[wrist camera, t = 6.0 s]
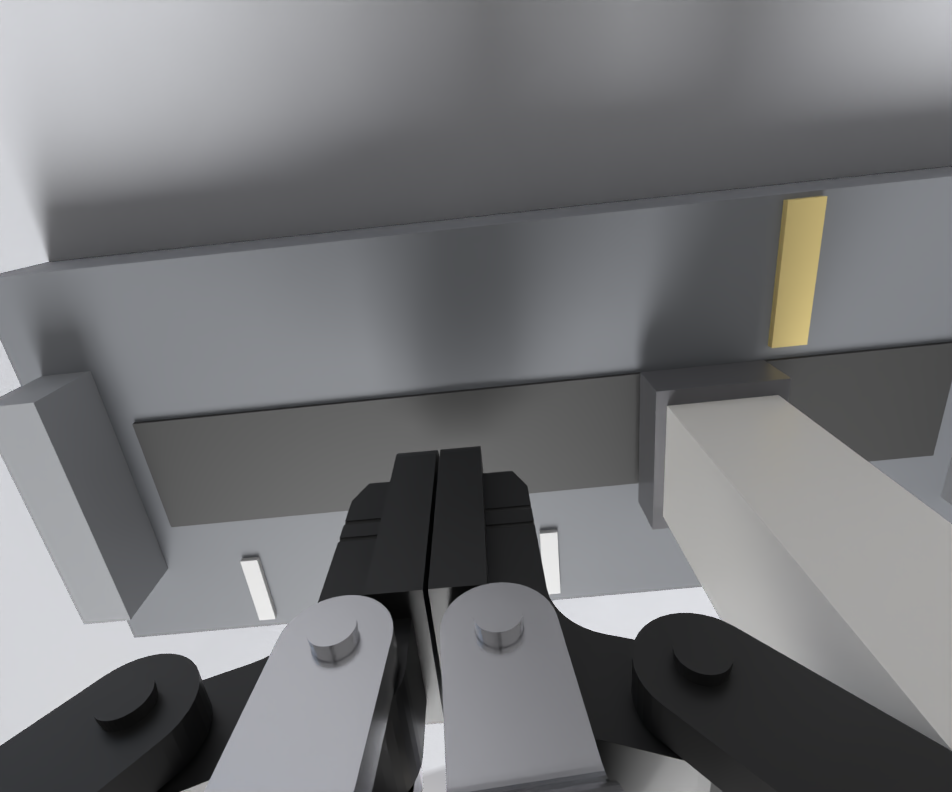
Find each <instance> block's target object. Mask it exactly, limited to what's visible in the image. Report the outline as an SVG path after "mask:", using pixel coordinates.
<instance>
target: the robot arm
mask: <svg viewBox="0 0 952 792" xmlns="http://www.w3.org/2000/svg"><path fill="white" fill-rule="evenodd" d="M436 723H444V739H445V763H446V784H447V785H446V788H447V792H952V751H951V750H949V749H948V748H946V747H944V746H942V745H941V744H939V743H937V742H935V741H934V740H932V739H930V738H928V737H927V736H925V735H923V734H921V733H920V732H918V731H916V730H914V729H913V728H911V727H909V726H907V725H906V724H904V723H902V722H900V721H899V720H897V719H895V718H893V717H892V716H890V715H888V714H886V713H885V712H883V711H881V710H880V709H878V708H876V707H874V706H873V705H871V704H869V703H867V702H866V701H864V700H862V699H860V698H859V697H857V696H855V695H853V694H852V693H850V692H848V691H846V690H845V689H843V688H841V687H839V686H838V685H836V684H834V683H832V682H831V681H829V680H827V679H825V678H824V677H822V676H820V675H818V674H817V673H815V672H813V671H812V670H810V669H808V668H806V667H805V666H803V665H801V664H799V663H798V662H796V661H794V660H792V659H791V658H789V657H787V656H785V655H784V654H782V653H780V652H778V651H777V650H775V649H773V648H771V647H770V646H768V645H766V644H764V643H763V642H761V641H759V640H757V639H756V638H754V637H752V636H750V635H749V634H747V633H745V632H744V631H742V630H740V629H738V628H737V627H735V626H733V625H731V624H729V623H727V622H725V621H722V620H719V619H716V618H714V617H710V616H706V615H701V614H694V613H676V614H669V615H666V616H662V617H659V618H657V619H655V620H653V621H651V622H650V623H648V624H647V625H645V626H644V627H643V628H642V630H641V631H640V632H639V633H638V635H637V637H636V639H635V640H633V639H628V638H623V637H617V636H612V635H606V634H602V633H598V632H594V631H591V630H589V629H586V628H583V627H581V626H579V625H577V624H576V623H574V622H572V621H571V620H569V619H568V618H566V617H565V616H564V615H563V614H562V613H561V612H560V611H559V610H558V609H557V608H556V607H555V605H554V604H553V602H552V601H551V599H550V597H549V594H548V591H547V586H546V581H545V576H544V570H543V565H542V560H541V555H540V549H539V544H538V539H537V534H536V528H535V525H534V518H533V513H532V509H531V502H530V497H529V492H528V486H527V485H526V484H525V483H524V482H523V481H522V480H521V479H520V478H519V477H518V476H517V475H516V474H515V473H514V472H513V471H503V472H492V473H483V463H482V454H481V446H475V447H463V448H452V449H441V450H440V456H439V452H438V450H431V451H420V452H409V453H398V454H397V455H396V458H395V462H394V467H393V471H392V475H391V479H390V482H380V483H369V484H368V485H367V486H366V487H365V488H364V489H363V490H362V491H361V492H360V493H359V494H358V495H357V496H356V497H355V498H354V499H353V500H352V502H351V505H350V508H349V511H348V514H347V517H346V520H345V525H344V526H343V529H342V532H341V535H340V542H338V544H337V547H336V550H335V553H334V556H333V559H332V562H331V565H330V568H329V571H328V574H327V577H326V580H325V582H324V585H323V588H322V591H321V594H320V597H319V600H318V603H317V604H314V605H312V606H311V607H309V608H307V609H306V610H304V611H302V612H301V613H300V614H299V615H297V616H296V617H295V618H294V619H293V620H292V621H291V622H290V623H289V624H288V625H287V626H286V627H285V628H284V630H283V631H282V633H281V634H280V636H279V638H278V640H277V642H276V644H275V646H274V648H273V650H272V652H271V654H270V656H268V657H266V658H264V659H261V660H259V661H256V662H254V663H251V664H249V665H246V666H243V667H240V668H237V669H234V670H231V671H228V672H225V673H222V674H220V675H217V676H214V677H211V678H208V679H205V680H202V679H201V676H200V674H199V671H198V669H197V667H196V665H195V664H194V663H193V662H192V661H191V660H190V659H188V658H187V657H184V656H181V655H177V654H158V655H152V656H148V657H144V658H141V659H137V660H135V661H132V662H130V663H127V664H125V665H123V666H121V667H119V668H117V669H115V670H114V671H112V672H110V673H109V674H107V675H105V676H104V677H102V678H101V679H99V680H98V681H96V682H95V683H93V684H92V685H90V686H89V687H87V688H86V689H84V690H83V691H81V692H80V693H78V694H77V695H75V696H74V697H72V698H71V699H69V700H68V701H66V702H65V703H63V704H62V705H61V706H59V707H58V708H56V709H55V710H53V711H52V712H50V713H49V714H47V715H46V716H44V717H43V718H41V719H40V720H38V721H37V722H35V723H34V724H32V725H31V726H29V727H28V728H26V729H25V730H23V731H22V732H20V733H19V734H17V735H16V736H14V737H13V738H11V739H10V740H8V741H7V742H5V743H4V744H2V745H1V746H0V792H422V790H423V773H422V767H421V765H422V758H423V746H424V732H425V724H436Z"/></svg>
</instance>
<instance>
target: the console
mask: <svg viewBox="0 0 952 792" xmlns="http://www.w3.org/2000/svg"><path fill="white" fill-rule="evenodd" d="M0 340H1V342H2V344H3V347H4V349H5V351H6V353H7V355H8V358H9V360H10V362H11V364H12V367H13V369H14V371H15V373H16V375H17V378H18V380H19V382H20V384H21V387H19V388H17V389H15V390H13V391H11V392H9V393H7V394H5V395H3V396H1V397H0V454H1V456H2V458H3V460H4V462H5V464H6V467H7V469H8V471H9V473H10V475H11V477H12V479H13V481H14V483H15V485H16V487H17V489H18V491H19V493H20V495H21V497H22V499H23V501H24V503H25V505H26V507H27V509H28V511H29V513H30V515H31V517H32V519H33V521H34V524H35V526H36V528H37V530H38V532H39V534H40V536H41V538H42V540H43V542H44V544H45V546H46V548H47V550H48V552H49V554H50V556H51V558H52V560H53V562H54V564H55V566H56V568H57V570H58V572H59V574H60V576H61V578H62V580H63V583H64V585H65V587H66V589H67V591H68V593H69V595H70V597H71V599H72V601H73V603H74V605H75V607H76V609H77V611H78V613H79V615H80V617H81V619H82V621H83V623H84V624H92V623H103V622H114V621H125V620H127V622H128V624H129V626H130V628H131V631H132V633H133V635H134V637H147V636H158V635H169V634H180V633H191V632H202V631H213V630H225V629H236V628H247V627H258V626H269V625H280V624H289V623H290V622H291V621H292V620H293V619H294V618H295V617H296V616H297V615H299V614H300V613H301V612H302V611H304V610H306V609H307V608H309V607H311V606H312V605H314V604H317V603H318V600H319V597H320V594H321V591H322V588H323V585H324V582H325V580H326V577H327V574H328V571H329V568H330V565H331V562H332V559H333V556H334V553H335V550H336V547H337V544H338V542H340V535H341V532H342V529H343V526H344V525H345V520H346V517H347V514H348V511H349V508H350V505H351V502H352V500H353V499H354V498H355V497H356V496H357V495H358V494H359V493H360V492H361V491H362V490H363V489H364V488H365V487H366V486H367V485H368V484H369V483H380V482H390V479H391V475H392V471H393V467H394V462H395V458H396V455H397V454H398V453H409V452H420V451H431V450H438V452H439V456H440V450H441V449H452V448H463V447H475V446H481V454H482V463H483V473H492V472H503V471H513V472H514V473H515V474H516V475H517V476H518V477H519V478H520V479H521V480H522V481H523V482H524V483H525V484H526V485H527V486H528V492H529V497H530V502H531V509H532V513H533V518H534V525H535V528H536V534H537V539H538V544H539V549H540V555H541V560H542V565H543V570H544V576H545V581H546V586H547V591H548V594H549V597H550V599H551V600H559V599H570V598H581V597H592V596H604V595H615V594H626V593H637V592H648V591H659V590H670V589H682V588H693V587H702V585H701V584H700V582H699V580H698V578H697V576H696V575H695V573H694V571H693V569H692V567H691V566H690V564H689V562H688V560H687V558H686V557H685V555H684V553H683V551H682V549H681V548H680V546H679V544H678V542H677V540H676V539H675V537H674V535H673V533H672V531H671V530H670V528H665V529H654V530H652V528H651V526H650V524H649V522H648V520H647V518H646V516H645V514H644V512H643V510H642V508H641V506H640V504H639V502H638V486H639V423H640V372H648V371H658V370H668V369H678V368H688V367H698V366H709V365H719V364H729V363H739V362H749V361H759V360H765V361H766V362H768V363H769V364H771V365H772V366H774V367H775V368H777V369H778V370H780V371H781V372H783V373H784V374H786V375H787V376H789V377H790V378H792V379H791V387H790V394H789V402H788V403H790V404H791V405H793V406H794V407H795V408H797V409H798V410H799V411H801V412H802V413H803V414H805V415H806V416H807V417H809V418H810V419H811V420H813V421H814V422H815V423H817V424H818V425H819V426H821V427H822V428H823V429H825V430H826V431H827V432H829V433H830V434H832V435H833V436H834V437H836V438H837V439H838V440H840V441H841V442H842V443H844V444H845V445H846V446H848V447H849V448H850V449H852V450H853V451H854V452H856V453H857V454H858V455H860V456H861V457H862V458H864V459H865V460H866V461H868V462H869V463H870V464H872V465H873V466H875V467H876V468H877V469H879V470H880V471H881V472H883V473H884V474H885V475H887V476H888V477H889V478H891V479H892V480H893V481H895V482H896V483H897V484H899V485H900V486H901V487H903V488H904V489H905V490H907V491H908V492H909V493H911V494H912V495H914V496H915V497H916V498H918V499H919V500H920V501H922V502H923V503H924V504H926V505H927V506H928V507H930V508H931V509H932V510H934V511H935V512H936V513H938V514H939V515H940V516H942V517H943V518H944V519H946V520H947V521H948V522H950V523H951V524H952V166H949V167H939V168H930V169H920V170H911V171H902V172H892V173H883V174H873V175H864V176H855V177H845V178H836V179H826V180H817V181H807V182H798V183H789V184H779V185H770V186H760V187H751V188H742V189H732V190H723V191H713V192H704V193H695V194H685V195H676V196H666V197H657V198H647V199H638V200H629V201H619V202H610V203H600V204H591V205H582V206H572V207H563V208H553V209H544V210H535V211H525V212H516V213H506V214H497V215H487V216H478V217H469V218H459V219H450V220H440V221H431V222H422V223H412V224H403V225H393V226H384V227H375V228H365V229H356V230H346V231H337V232H327V233H318V234H309V235H299V236H290V237H280V238H271V239H262V240H252V241H243V242H233V243H224V244H215V245H205V246H196V247H186V248H177V249H167V250H158V251H149V252H139V253H130V254H120V255H111V256H102V257H92V258H83V259H73V260H64V261H55V262H46V263H42V264H38V265H34V266H29V267H25V268H21V269H17V270H13V271H8V272H4V273H0Z"/></svg>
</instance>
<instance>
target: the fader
mask: <svg viewBox="0 0 952 792" xmlns="http://www.w3.org/2000/svg"><path fill="white" fill-rule="evenodd" d="M791 379H792V378H790V377H789V376H787V375H786V374H784V373H783V372H781V371H780V370H778V369H777V368H775V367H774V366H772V365H771V364H769V363H768V362H766V361H765V360H759V361H749V362H739V363H729V364H719V365H709V366H698V367H688V368H678V369H668V370H658V371H648V372H640V423H639V486H638V502H639V504H640V506H641V508H642V510H643V512H644V514H645V516H646V518H647V520H648V522H649V524H650V526H651V528H652V530H654V529H665V528H670V530H671V531H672V533H673V535H674V537H675V539H676V540H677V542H678V544H679V546H680V548H681V549H682V551H683V553H684V555H685V557H686V558H687V560H688V562H689V564H690V566H691V567H692V569H693V571H694V573H695V575H696V576H697V578H698V580H699V582H700V584H701V585H702V587H703V589H704V591H705V592H706V594H707V596H708V598H709V600H710V601H711V603H712V605H713V607H714V609H715V610H716V612H717V614H718V616H719V618H720V619H721V620H722V621H725V622H727V623H729V624H731V625H733V626H735V627H737V628H738V629H740V630H742V631H744V632H745V633H747V634H749V635H750V636H752V637H754V638H756V639H757V640H759V641H761V642H763V643H764V644H766V645H768V646H770V647H771V648H773V649H775V650H777V651H778V652H780V653H782V654H784V655H785V656H787V657H789V658H791V659H792V660H794V661H796V662H798V663H799V664H801V665H803V666H805V667H806V668H808V669H810V670H812V671H813V672H815V673H817V674H818V675H820V676H822V677H824V678H825V679H827V680H829V681H831V682H832V683H834V684H836V685H838V686H839V687H841V688H843V689H845V690H846V691H848V692H850V693H852V694H853V695H855V696H857V697H859V698H860V699H862V700H864V701H866V702H867V703H869V704H871V705H873V706H874V707H876V708H878V709H880V710H881V711H883V712H885V713H886V714H888V715H890V716H892V717H893V718H895V719H897V720H899V721H900V722H902V723H904V724H906V725H907V726H909V727H911V728H913V729H914V730H916V731H918V732H920V733H921V734H923V735H925V736H927V737H928V738H930V739H932V740H934V741H935V742H937V743H939V744H941V745H942V746H944V747H946V748H948V749H949V750H951V751H952V524H951V523H950V522H948V521H947V520H946V519H944V518H943V517H942V516H940V515H939V514H938V513H936V512H935V511H934V510H932V509H931V508H930V507H928V506H927V505H926V504H924V503H923V502H922V501H920V500H919V499H918V498H916V497H915V496H914V495H912V494H911V493H909V492H908V491H907V490H905V489H904V488H903V487H901V486H900V485H899V484H897V483H896V482H895V481H893V480H892V479H891V478H889V477H888V476H887V475H885V474H884V473H883V472H881V471H880V470H879V469H877V468H876V467H875V466H873V465H872V464H870V463H869V462H868V461H866V460H865V459H864V458H862V457H861V456H860V455H858V454H857V453H856V452H854V451H853V450H852V449H850V448H849V447H848V446H846V445H845V444H844V443H842V442H841V441H840V440H838V439H837V438H836V437H834V436H833V435H832V434H830V433H829V432H827V431H826V430H825V429H823V428H822V427H821V426H819V425H818V424H817V423H815V422H814V421H813V420H811V419H810V418H809V417H807V416H806V415H805V414H803V413H802V412H801V411H799V410H798V409H797V408H795V407H794V406H793V405H791V404H790V403H788V402H789V394H790V387H791Z"/></svg>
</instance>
